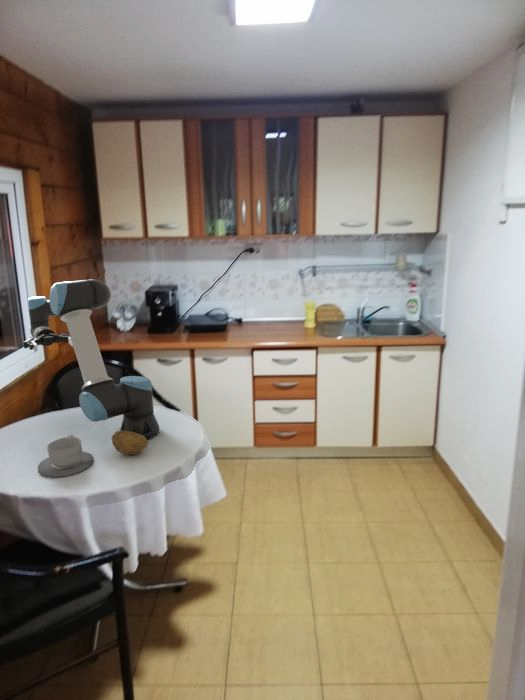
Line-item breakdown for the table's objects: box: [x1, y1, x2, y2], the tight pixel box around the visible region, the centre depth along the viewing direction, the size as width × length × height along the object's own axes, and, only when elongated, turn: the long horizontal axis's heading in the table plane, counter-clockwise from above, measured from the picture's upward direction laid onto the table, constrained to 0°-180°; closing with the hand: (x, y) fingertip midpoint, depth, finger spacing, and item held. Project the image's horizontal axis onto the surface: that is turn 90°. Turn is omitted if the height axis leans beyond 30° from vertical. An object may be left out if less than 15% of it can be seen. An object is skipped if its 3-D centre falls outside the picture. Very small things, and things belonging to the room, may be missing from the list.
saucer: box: [37, 450, 95, 479], centre depth 171 cm, size 18×18×1 cm
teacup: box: [46, 434, 83, 468], centre depth 170 cm, size 14×11×8 cm
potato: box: [111, 430, 148, 456], centre depth 178 cm, size 10×14×8 cm
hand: (55, 345), depth 194 cm, fingers open, 13 cm apart
